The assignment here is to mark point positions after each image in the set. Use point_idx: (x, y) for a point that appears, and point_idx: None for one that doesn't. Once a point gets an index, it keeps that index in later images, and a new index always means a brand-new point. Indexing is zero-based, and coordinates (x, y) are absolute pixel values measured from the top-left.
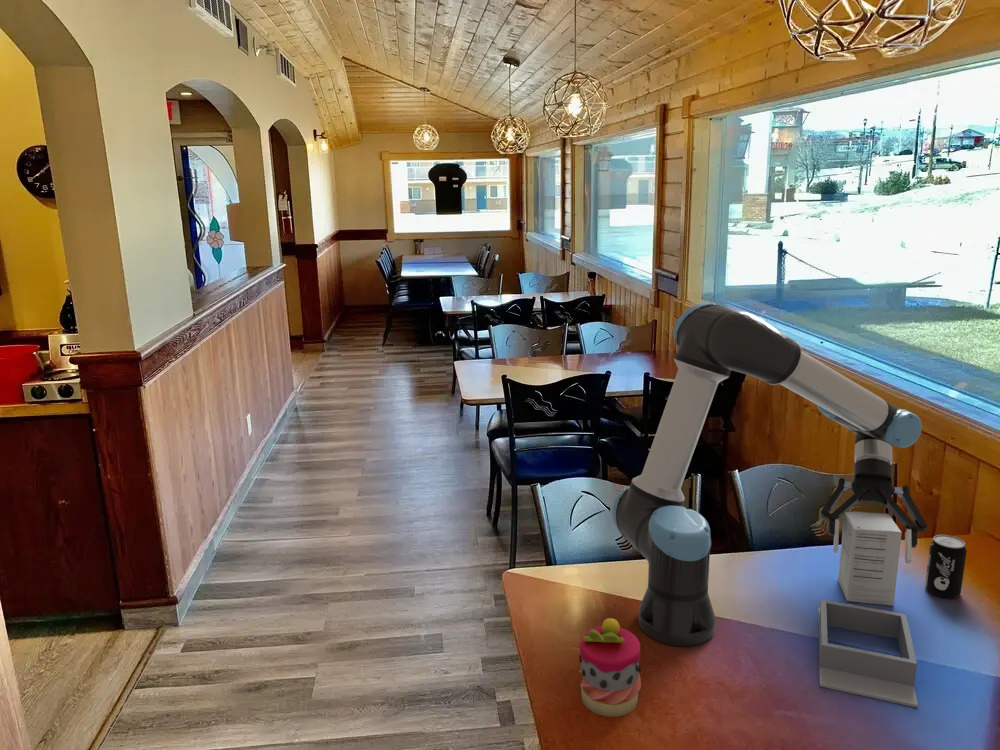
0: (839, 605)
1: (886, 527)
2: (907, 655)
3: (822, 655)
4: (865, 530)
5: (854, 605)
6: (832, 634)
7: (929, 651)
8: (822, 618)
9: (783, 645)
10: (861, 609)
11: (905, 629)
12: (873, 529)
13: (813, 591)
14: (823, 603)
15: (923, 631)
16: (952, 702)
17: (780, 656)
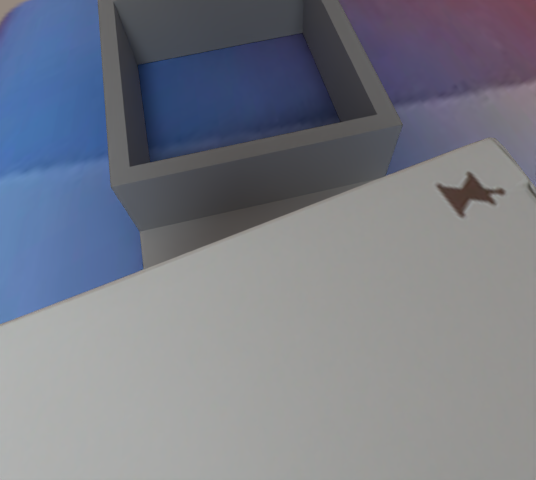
0: (333, 124)
1: (75, 422)
2: (120, 34)
3: None
4: (362, 194)
5: (287, 146)
6: None
7: (73, 206)
8: (353, 37)
9: (411, 50)
10: (260, 140)
11: (117, 103)
12: (268, 238)
13: None
14: (383, 106)
15: None
16: (51, 60)
17: (397, 18)
